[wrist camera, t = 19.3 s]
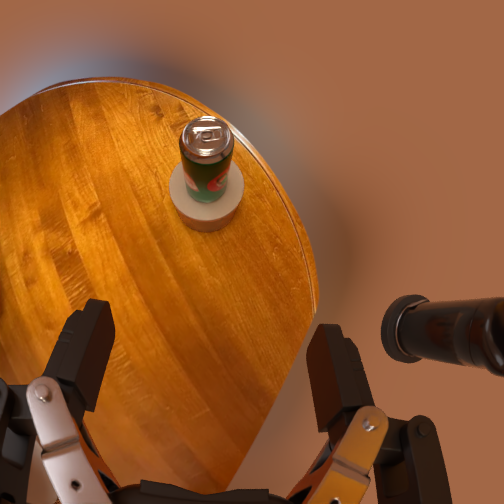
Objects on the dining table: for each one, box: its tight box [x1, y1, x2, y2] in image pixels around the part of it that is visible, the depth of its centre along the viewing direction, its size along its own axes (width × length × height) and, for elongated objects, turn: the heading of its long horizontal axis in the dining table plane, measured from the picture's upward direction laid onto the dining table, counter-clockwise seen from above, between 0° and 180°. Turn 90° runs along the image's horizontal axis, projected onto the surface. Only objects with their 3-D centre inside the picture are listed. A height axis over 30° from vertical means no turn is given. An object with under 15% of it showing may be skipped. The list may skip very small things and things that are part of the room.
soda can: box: [179, 116, 234, 203], centre depth 31 cm, size 5×5×12 cm
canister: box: [169, 160, 244, 232], centre depth 40 cm, size 9×9×7 cm
